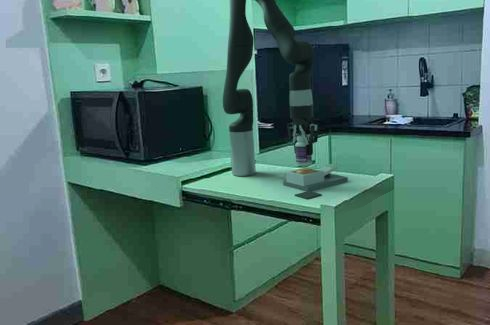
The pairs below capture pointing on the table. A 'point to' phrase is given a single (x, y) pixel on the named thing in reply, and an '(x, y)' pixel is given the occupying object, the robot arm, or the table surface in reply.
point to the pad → (308, 195)
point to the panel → (312, 180)
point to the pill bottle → (302, 152)
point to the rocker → (329, 169)
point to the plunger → (304, 171)
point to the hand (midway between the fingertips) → (303, 154)
